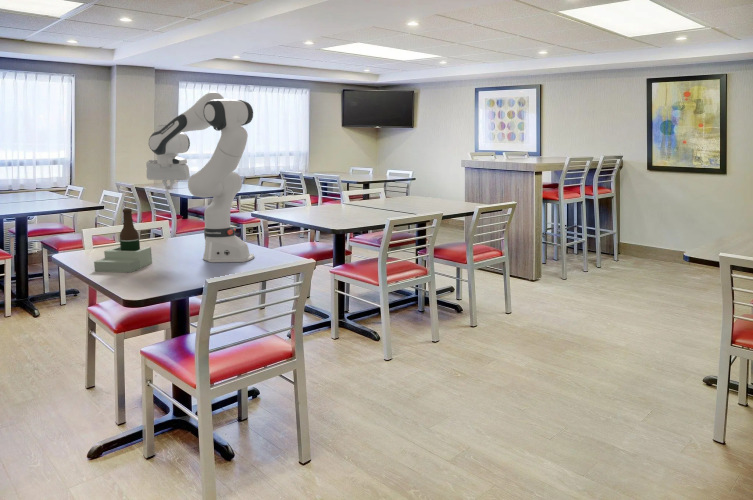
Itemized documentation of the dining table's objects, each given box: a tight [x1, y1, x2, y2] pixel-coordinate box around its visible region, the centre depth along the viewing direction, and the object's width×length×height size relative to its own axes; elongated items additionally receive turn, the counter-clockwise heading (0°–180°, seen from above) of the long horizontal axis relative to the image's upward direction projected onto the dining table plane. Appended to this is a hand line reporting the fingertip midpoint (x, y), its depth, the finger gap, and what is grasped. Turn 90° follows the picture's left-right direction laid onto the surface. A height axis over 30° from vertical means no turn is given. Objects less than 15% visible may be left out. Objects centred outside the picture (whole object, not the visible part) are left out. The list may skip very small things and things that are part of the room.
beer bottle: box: [119, 208, 141, 251], centre depth 258 cm, size 8×8×24 cm
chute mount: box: [93, 245, 153, 273], centre depth 254 cm, size 16×18×7 cm
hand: (168, 189), depth 285 cm, fingers closed
